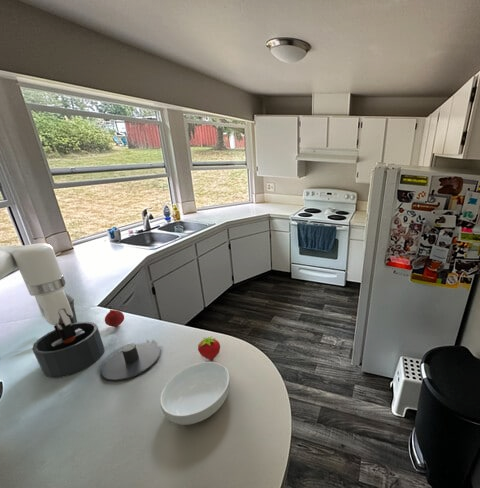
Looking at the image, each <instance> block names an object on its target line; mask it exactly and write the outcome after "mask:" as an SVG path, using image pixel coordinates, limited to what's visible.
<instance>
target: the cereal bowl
mask: <svg viewBox="0 0 480 488" xmlns="http://www.w3.org/2000/svg"><path fill="white" fill-rule="evenodd" d="M230 386H231V377H230V372H229V370H228V368H227V367H226V366H224V364H222V363H219V362H215V361H203V362H197V363H194V364H191V365H188V366H186V367H185V368H183V369H181V370H180V371H178V372H177V373H175V375H173V376H172V377H171V378H170V379H168V381H167V383H166V384H165V386H164V387H163V389H162V391H161V394H160V398H159V399H160V400H159V402H160V403H159V404H160V408H161V411H162V413H163V415H164V416H165V417H166V418H167V420H168V421H170V422H172V423H173V424H176V425H182V426H187V425H194V424H197V423H200V422H203V421H205V420H206V419H208V418H210V417H211V416H212V415H213V414H215V413H216V412H217V411H218V410H219V409H220V408H221V407H222V405H224V402H225V401H226V399H227V397H228V395H229V392H230Z"/></svg>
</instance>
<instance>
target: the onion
mask: <svg viewBox="0 0 480 488" xmlns="http://www.w3.org/2000/svg"><path fill="white" fill-rule="evenodd" d="M124 321H125V315H124V313H123V312H122V311H120V310H116V309H112V308H111V309H109V312H108V313H106V315H105V317H104V323H105V325H107V326H108V327H112V328H117V327H119V326H120V325H122V324H123V322H124Z"/></svg>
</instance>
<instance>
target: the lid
mask: <svg viewBox="0 0 480 488" xmlns="http://www.w3.org/2000/svg"><path fill="white" fill-rule="evenodd" d="M160 356H161V348H160V347H159V345H157V344H155V343H153V342H141V343H136V344H135V343H127V344H126V345H124V346H123V347H122V348H121V349H120V350H119V351H117V352H115V353H114V354H112V355H111V356H110V357H109V358H108V359H107V360H106V361H105V362H104V363H103V365H102V367H101V371H100V372H101V376H102V377H103V378H104V379H105V380H108V381H113V382H116V381H117V382H118V381H125V380H128V379H131V378H133V377H136V376H138V375H140V374H142V373H144V372H146V371H147V370H149V369H150V368H151V367H152V366H153V365H155V363H157V361H158V360H159V358H160Z"/></svg>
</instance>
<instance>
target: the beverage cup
mask: <svg viewBox="0 0 480 488" xmlns="http://www.w3.org/2000/svg"><path fill="white" fill-rule="evenodd" d="M64 293H65V295H66V297H67V300H68V302H69V304H70V307H71V310H72V313H73V317H72V318H70V317H69V318H70V320H71V323H72V324H74V323H78V319H77V314H76V310H75V302H74V301H75V299H74V298H73V296H72V295H71V294H68V293H67V292H64Z"/></svg>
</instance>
